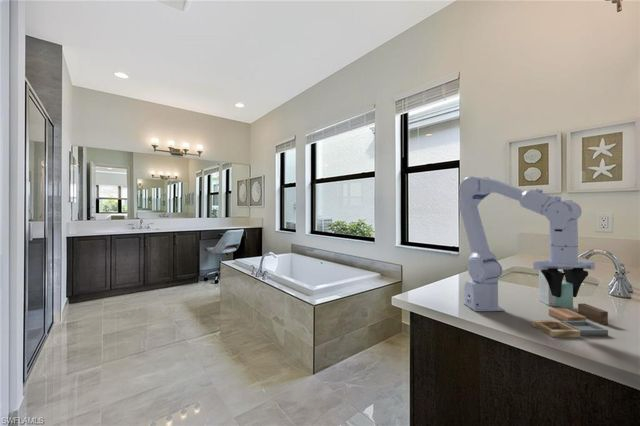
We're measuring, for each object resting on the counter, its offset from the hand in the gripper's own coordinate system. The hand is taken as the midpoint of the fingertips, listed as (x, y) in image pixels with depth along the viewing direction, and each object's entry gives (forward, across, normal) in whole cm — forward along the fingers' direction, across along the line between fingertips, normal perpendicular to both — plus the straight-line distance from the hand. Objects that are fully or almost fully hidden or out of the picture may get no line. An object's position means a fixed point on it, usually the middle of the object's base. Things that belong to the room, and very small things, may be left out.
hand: (563, 296), depth 75 cm
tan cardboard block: (+10, +7, +8) cm, 14 cm away
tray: (+10, +5, 0) cm, 11 cm away
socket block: (+10, -2, 0) cm, 10 cm away
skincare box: (+10, +14, +22) cm, 27 cm away
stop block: (+10, +15, +8) cm, 19 cm away
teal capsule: (+2, 0, 0) cm, 3 cm away
